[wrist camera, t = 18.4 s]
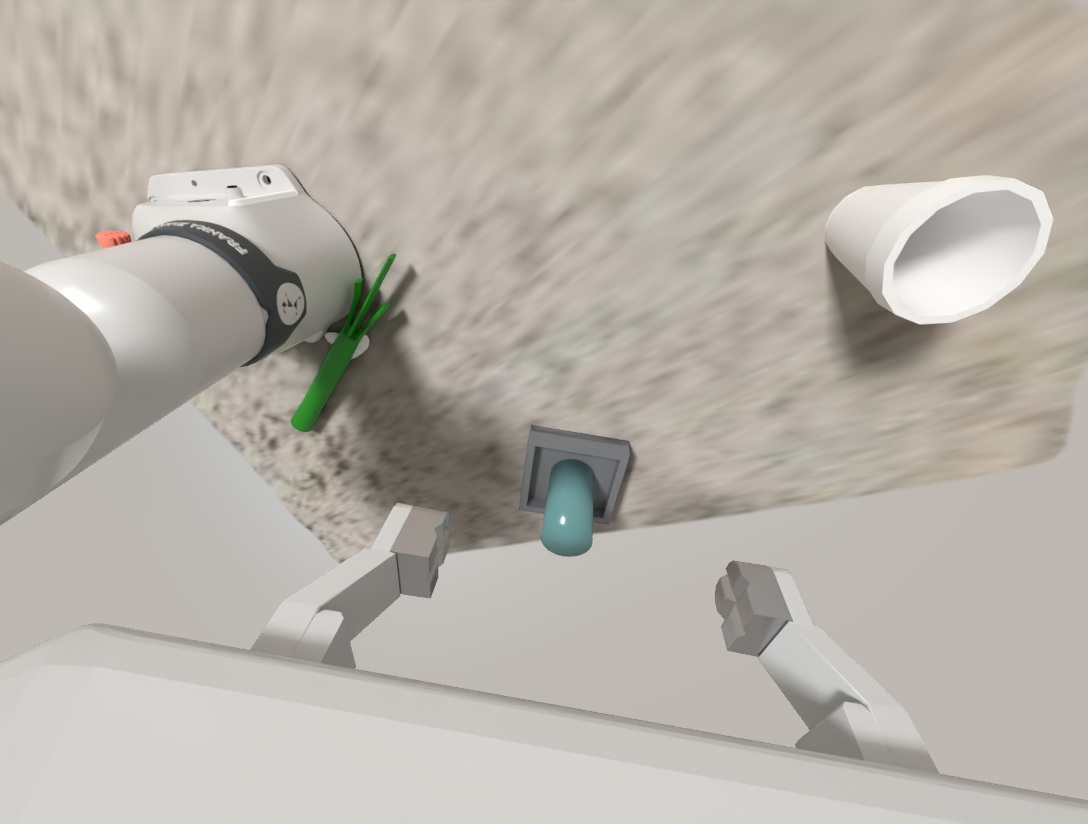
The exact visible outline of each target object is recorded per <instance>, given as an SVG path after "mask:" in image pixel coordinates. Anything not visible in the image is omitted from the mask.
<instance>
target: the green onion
mask: <svg viewBox="0 0 1088 824" xmlns="http://www.w3.org/2000/svg"><path fill="white" fill-rule="evenodd" d="M395 257H396V254H392V255H390V256H389V257H388V259H387V261H386V263H385V265H384V267H383V268H382V270H381V272H380V274H379V276H378V278H377V280H376V281H375V283H374V285H373V287H372V289H371V291H370V293H369V295H368V297H367V298H366V300H365V302H364V304H363V306H362V308H361V310H360V312H359V313H358V315H357V317H356V319H355V320H354V317H355V314H356V311H357V308H358V305H359V302H360V298H361V294H362V282H363V278H359V279H357V280H356V281H355V284H354V296H353V300H352V305H351V308H350V311H349V314H348V317H347V321H346V323H345V325H344V326H343V328H342V330H341V331H340V333H334V332H331V333H326V334H325V338H326V340H327V341H328V342H329V343H331V344H332V347H331V348H330V350H329V352H328V354H327V356H326V358H325V360H324V362H323V364H322V366H321V368H320V369H319V371H318V373H317V375H316V377H315V379H314V381H313V383H312V384H311V386H310V388H309V390H308V392H307V394H306V396H305V398H304V399H303V401H302V403H301V405H300V406H299V407H298V409H297V410H296V412H295V413H294V415H293V417H292V419H291V424H292V426H293V427H294V428H296V429H297V430H299V431H302V432H309V431H311V430H312V428H313V427H314V425H315V423H316V421H317V419H318V416H319V414H320V412H321V410H322V409H323V407H324V405H325V404H326V402H327V400H328V398H329V397H330V395H331V393H332V392H333V390H334V388H335V387H336V385H337V383H338V381H339V380H340V378H341V376H342V374H343V373H344V371H345V369H346V368H347V366H348V364H349V362H350V360H351V359H354V358H356V357H358V356H359V355H360V354H362V353H363V352H365V351H366V350H367V348H368V346H369V338H368V336H367V335H365V333H366V332H367V331H368V330H369V329H370V328H371V327H372V326H373V325H374V324H375V323H376V322H377V321H378V319H379V318H380V317H381V316H382V315H383V314H384V313H385V312H386V311H387V310H388V308H389V307H390V305H391V304H390V303H389V301H387V302H386V303H385V304H384V305H383V306H382V307H381V308H380V309H379V310H378V312H377V313H376V314H375V315H374V316H373V317H372V318H371V319H370V321H369V322H368V323H367V324H366V325H365V326H364V327H363V328H362V329H361V330H360V331H359V327H360V325H361V323H362V321H363V319H364V317H365V316H366V314H367V312H368V310H369V308H370V306H371V304H372V302H373V300H374V298H375V296H376V294H377V292H378V290H379V288H380V286H381V284H382V282H383V280H384V278H385V276H386V274H387V272H388V270H389V268H390V267H391V265H392V263H393V261H394V259H395ZM353 320H354V322H353Z"/></svg>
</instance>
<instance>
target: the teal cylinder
mask: <svg viewBox="0 0 1088 824" xmlns="http://www.w3.org/2000/svg"><path fill="white" fill-rule="evenodd" d="M593 490H594V473H593V471H592V469H591V467H590V466H589V465H587V464H586V463H585V462H582V461H580V460H576V459H565V460H562V461H559V462H558V463H556V464H555V465H554V466H553V467H552V469H551V473H550V480H549V487H548V494H547V501H546V507H545V514H544V521H543V528H542V535H541V540H542V543H543V545H544V546H545V547H546V548H547V549H548V550H549V551H551V552H553V553H555V554H557V555H561V556H578V555H581V554H583V553H585V552H587V551H588V550H589V549H590V548H591V546H592V533H593Z"/></svg>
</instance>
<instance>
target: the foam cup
mask: <svg viewBox="0 0 1088 824" xmlns="http://www.w3.org/2000/svg"><path fill="white" fill-rule="evenodd" d="M1052 222H1053V216H1052V214H1051V211H1050V209H1049V206H1048V204H1047V201H1046V198H1045V196H1044V193H1043V192H1042V191H1040V190H1038V189H1036V188H1034V187H1032V186H1029V185H1027V184H1025V183H1023V182H1021V181H1019V180H1017V179H1014V178H1005V177H997V176H988V175H983V176H973V177H963V178H953V179H948V180H946V181H937V182H921V183H904V184H888V185H878V186H868V187H863V188H861V189H859V190H857V191H855V192H853V193H851V194H849V195H847V196H846V197H845V198H844V199H843V200H842V201H841V202H840V203H839V204H838V205H837V206H836V207H835V208H834V209H833V210H832V213H831V215H830V217H829V219H828V221H827V224H826V226H825V243H826V244H827V246H828V248H829V249H830V251H831V252H832V253H833V255H834V256H835V257H836V258H837V259H838V260H839V261H840V262H841V263H842V264H843V265H844V266H845V267H846V268H847V269H848V270H849V271H850V272H851V273H852V274H853V275H854V276H855V277H856V278H857V279H858V280H859V281H860V282H861V283H862V284H863V285H864V286H865V287H866V288H867V289H868V290H869V291H870V293H871V294H872V296H873V297H874V299H875V301H876V302H877V304H879V305H881V306H882V307H884V308H885V309H887V310H889V311H890V312H892V313H894V314H895V315H898V316H900V317H903V318H905V319H907V320H910V321H912V322H915V323H917V324H935V323H952V322H955V321H957V320H960V319H962V318H965V317H967V316H970V315H972V314H975V313H977V312H980V311H983V310H985V309H988V308H989V307H990V306H992V305H993V304H994V303H996V302H997V301H998V300H1000V299H1001V298H1002V297H1004V296H1005V295H1006V294H1008V293H1009V292H1010V291H1012V290H1013V289H1014V288H1016V287H1017V286H1018V285H1020V284H1021V283H1022V281H1023V280H1024V279H1025V277H1026V276H1027V275H1028V273H1029V272H1030V271H1031V269H1032V268H1033V267H1034V265H1035V264H1036V263H1037V261H1038V260H1039V259H1040V257H1041V256H1042V255H1043V254H1044V252H1045V249H1046V245H1047V241H1048V237H1049V233H1050V230H1051V226H1052Z"/></svg>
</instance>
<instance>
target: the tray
mask: <svg viewBox="0 0 1088 824" xmlns="http://www.w3.org/2000/svg"><path fill="white" fill-rule="evenodd" d="M629 457H630V451H629V441H625V440H619V439H613V438H607V437H601V436H594V435H588V434H582V433H576V432H570V431H564V430H558V429H552V428H546V427H540V426H534V425H531V429H530V434H529V438H528V445H527V453H526V460H525V468H524V476H523V483H522V491H521V499H520V506H519V510H525V511H531V512H537V513H543V514H545V507H546V501H547V494H548V487H549V480H550V473H551V469H552V467H553V466H554V465H555V464H556V463H558V462H559V461H562V460H565V459H576V460H580V461H582V462H585V463H586V464H587V465H589V466H590V467H591V469H592V471H593V473H594V490H593V522H596V523H602V524H609V521H610V518H611V515H612V511H613V508H614V505H615V502H616V499H617V495H618V492H619V489H620V486H621V483H622V479H623V476H624V473H625V470H626V467H627V463H628V460H629Z"/></svg>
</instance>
